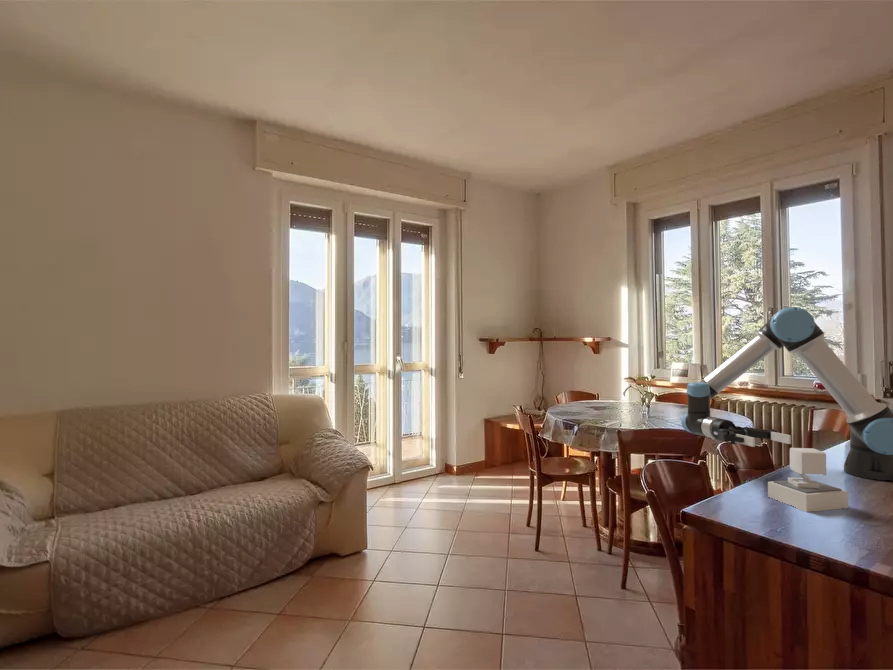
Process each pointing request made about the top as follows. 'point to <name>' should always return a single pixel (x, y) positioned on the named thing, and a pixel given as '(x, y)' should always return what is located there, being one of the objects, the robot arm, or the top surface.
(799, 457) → the security camera
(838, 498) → the cream gray-topped block
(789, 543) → the top surface
